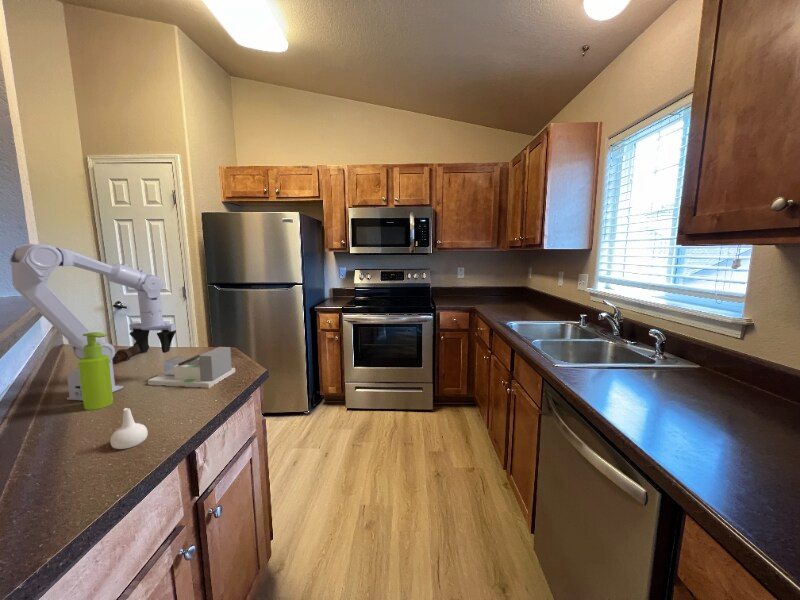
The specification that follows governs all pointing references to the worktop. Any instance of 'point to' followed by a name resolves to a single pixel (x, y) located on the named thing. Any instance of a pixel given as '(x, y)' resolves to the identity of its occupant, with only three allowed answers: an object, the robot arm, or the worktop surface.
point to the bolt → (127, 353)
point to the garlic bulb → (128, 433)
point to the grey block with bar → (179, 363)
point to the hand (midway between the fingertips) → (155, 351)
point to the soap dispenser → (95, 374)
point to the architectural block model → (199, 371)
